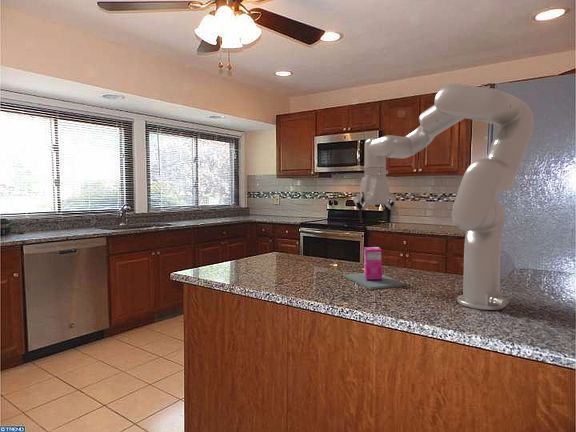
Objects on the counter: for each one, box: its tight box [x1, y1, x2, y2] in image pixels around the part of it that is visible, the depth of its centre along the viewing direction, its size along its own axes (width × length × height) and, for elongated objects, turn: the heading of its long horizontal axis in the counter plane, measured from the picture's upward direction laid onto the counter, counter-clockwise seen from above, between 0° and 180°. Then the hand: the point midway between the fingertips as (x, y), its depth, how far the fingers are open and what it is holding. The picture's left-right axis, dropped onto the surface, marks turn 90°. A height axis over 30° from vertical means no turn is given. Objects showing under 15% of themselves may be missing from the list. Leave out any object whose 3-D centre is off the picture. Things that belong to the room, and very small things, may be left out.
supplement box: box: [363, 246, 383, 281], centre depth 140 cm, size 6×6×12 cm
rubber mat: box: [343, 272, 407, 290], centre depth 141 cm, size 20×14×1 cm
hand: (374, 220), depth 140 cm, fingers open, 9 cm apart
